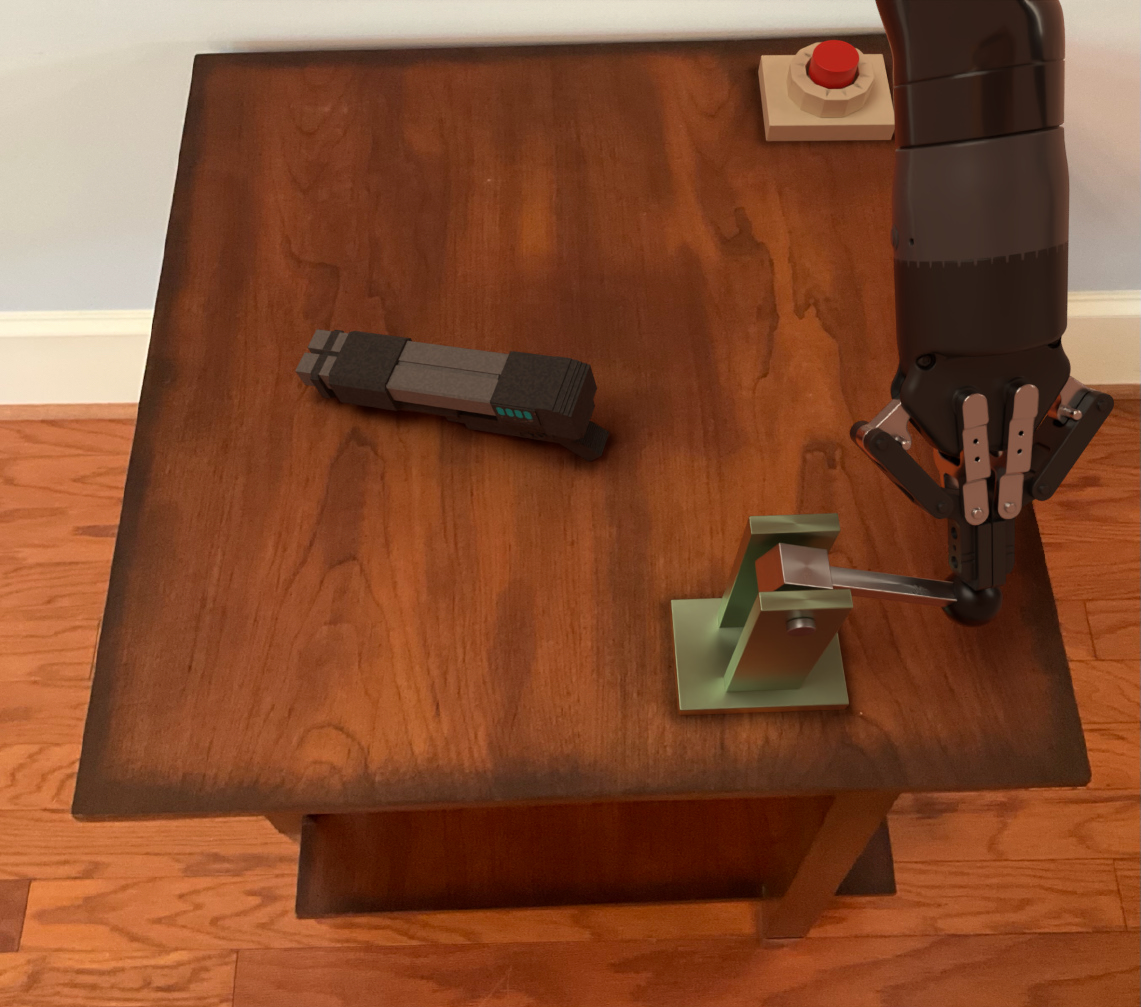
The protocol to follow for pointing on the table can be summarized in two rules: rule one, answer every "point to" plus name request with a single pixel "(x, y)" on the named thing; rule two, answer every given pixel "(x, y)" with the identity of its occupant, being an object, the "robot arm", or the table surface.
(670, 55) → the table surface
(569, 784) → the table surface
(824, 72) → the red button
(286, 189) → the table surface
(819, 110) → the button box
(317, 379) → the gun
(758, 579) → the switch lever
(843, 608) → the switch bracket
